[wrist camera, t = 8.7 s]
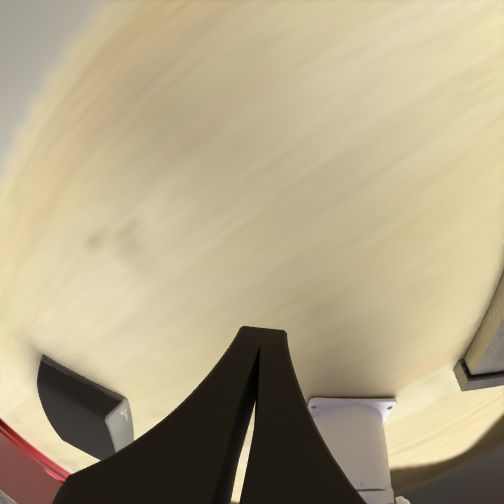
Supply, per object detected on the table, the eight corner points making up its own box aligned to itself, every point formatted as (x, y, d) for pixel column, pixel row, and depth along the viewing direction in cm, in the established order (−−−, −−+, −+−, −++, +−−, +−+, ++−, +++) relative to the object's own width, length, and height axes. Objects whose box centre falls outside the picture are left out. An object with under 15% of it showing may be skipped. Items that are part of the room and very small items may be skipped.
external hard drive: (135, 397, 29) (121, 426, 25) (135, 456, 37) (127, 476, 34) (40, 348, 28) (22, 370, 25) (64, 421, 37) (54, 438, 34)
